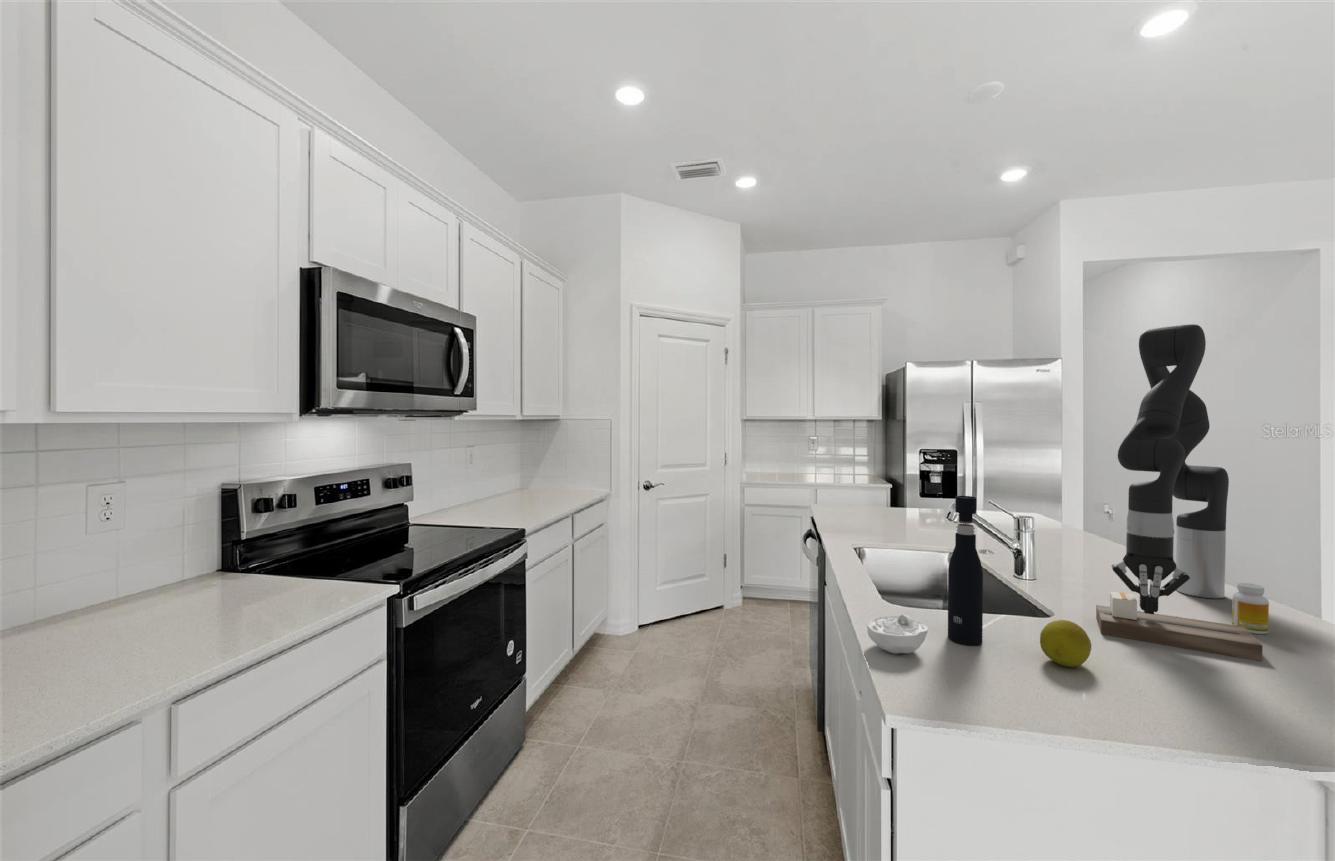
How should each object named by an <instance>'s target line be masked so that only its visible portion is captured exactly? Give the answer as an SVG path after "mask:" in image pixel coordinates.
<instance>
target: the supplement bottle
mask: <svg viewBox="0 0 1335 861" xmlns="http://www.w3.org/2000/svg"><path fill="white" fill-rule="evenodd" d="M1236 585H1237V586H1236V588H1237V591H1238V592H1235V593H1233V594H1232V603H1231V604H1232V607H1231V608H1232V609H1231V610H1232V612H1231V617H1232V618H1231V625H1236V626H1243V627H1245V628H1246V629H1247V630H1248V631H1249V632H1250V633H1251V634H1255V635H1266V634H1268V633H1269V608H1270V606H1269V605H1270V603H1269V601H1270V600H1269V599H1268V598H1266V597H1265V596H1264V595H1265V587H1264V586H1262V585H1259V584H1254V583H1248V582H1247V583H1246V582H1237V584H1236Z"/></svg>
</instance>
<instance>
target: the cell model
mask: <svg viewBox="0 0 1335 861" xmlns="http://www.w3.org/2000/svg"><path fill="white" fill-rule="evenodd" d="M866 627H867V628H866V630H867V635H868V637H869V639H870V640H871V641H872V642H873V643H874V644H876V646H877V647H878V648H880V649H882V650H883V651H886V652H888V653H890V654H912V653H915V651H917V650H918V649H919V648H920V647H921V646H922V645H923V643H924V641H925V640H926V637H927V634H928V632H929V627H928V626H927V625H926V624H924V623H922V622H920V621H917V620H914V619H912V618H911V617H909V616H908V615H907V614H900V615H899V616H895V615H892V616H882V615H881V616H878V617H874V618H872V619H870V621H869V622H868V623H867V624H866Z"/></svg>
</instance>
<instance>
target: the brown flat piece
mask: <svg viewBox="0 0 1335 861" xmlns="http://www.w3.org/2000/svg"><path fill="white" fill-rule="evenodd" d="M1095 610H1096V612H1095V614H1096V616H1095V619H1096V622H1097V626H1098V628H1099V632H1100V634H1101V635H1106V636H1113V637H1118V638H1122V639H1130V640H1133V641H1134V640H1135V641H1141V642H1147V643H1153V644H1159V645H1165V646H1172V647H1176V648H1183V649H1187V650H1194V651H1195V650H1196V651H1201V652H1206V653H1211V654H1213V653H1214V654H1218V655H1224V656H1230V657H1236V658H1242V659H1248V660H1253V661H1259V662H1263V645H1262V643H1261V642H1260V641H1258V639H1257V638H1256V637H1255V636H1254V635H1253V633H1250V632H1249V631H1248V630H1247V629H1246V628H1245V627H1243V626H1236V625H1232V624H1228V623H1221V622H1214V621H1208V620H1201V619H1195V618H1188V617H1181V616H1175V615H1174V616H1173V615H1167V614H1159V613H1154V614H1147V613H1144V611H1141V610H1137V620H1134V619H1127V618H1121V617H1114V616H1112V613H1111V611H1110V606H1105V605H1100V604H1099V605H1098V604H1096V606H1095Z"/></svg>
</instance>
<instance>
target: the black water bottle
mask: <svg viewBox="0 0 1335 861" xmlns="http://www.w3.org/2000/svg"><path fill="white" fill-rule="evenodd" d="M954 500H955V510H954V511H955V513H957V514H958V522H959V523H957V525H956V532H955V533H954V534H955V536H954V537H955V543H954V544H955V546H954V548H953V550H952V553H951V556H950V559H949V564H948V569H947V572H948V573H947V638H948V640H950V641H951V642H953V643H956V644H958V645H961V646H968V647H969V646H970V647H975V646H977V647H978V646H980V645H982V644H983V615H984V614H983V612H984V611H983V609H984V607H983V604H984V597H983V592H984V589H983V588H984V573H983V568H982V562H981V558H980V556H979V553H978V550H977V547H976V546H977V545H976V544H977V539H976V537H977V535H976V534H975V525H974V524H973V522H974V521H973V516H974V515H975V514H977V496H971V495H956V496H955V499H954Z"/></svg>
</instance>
